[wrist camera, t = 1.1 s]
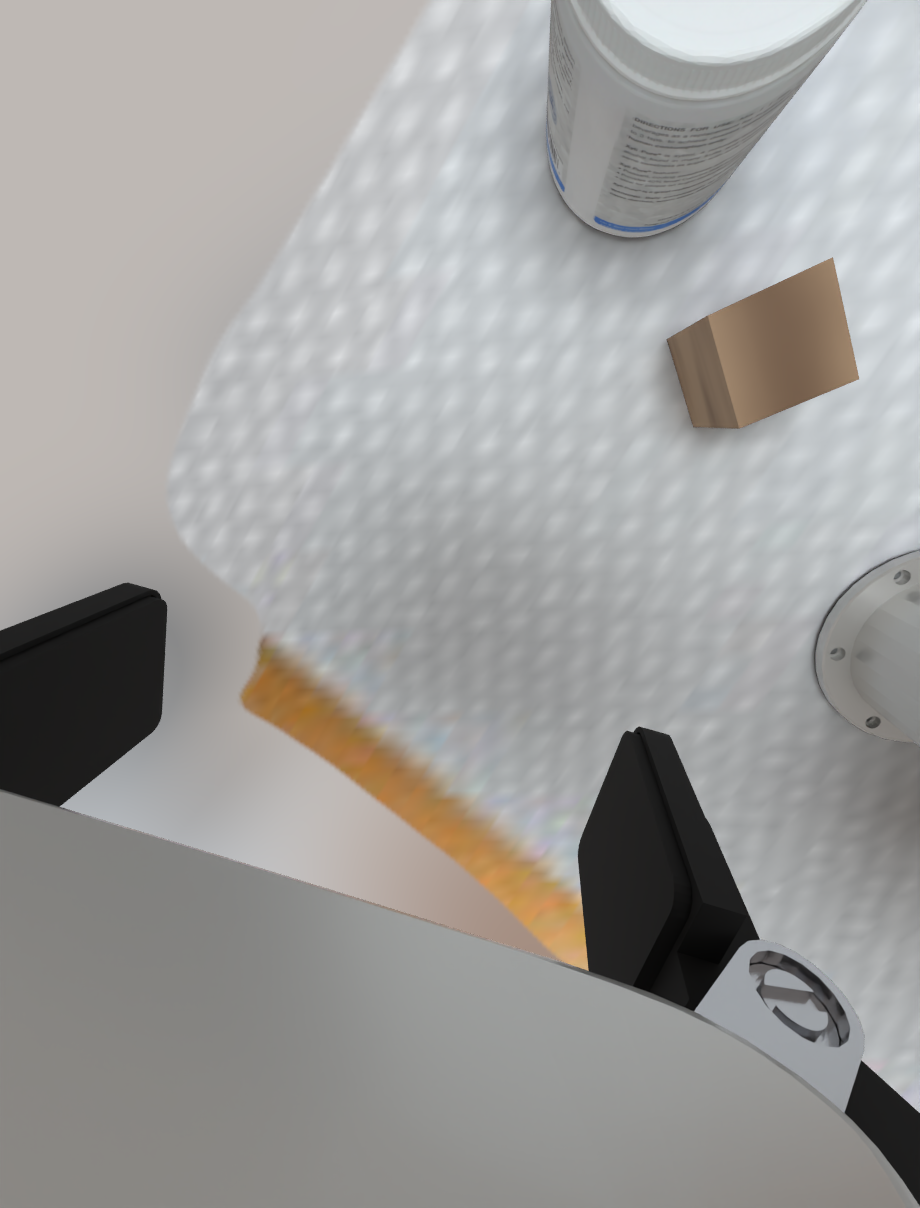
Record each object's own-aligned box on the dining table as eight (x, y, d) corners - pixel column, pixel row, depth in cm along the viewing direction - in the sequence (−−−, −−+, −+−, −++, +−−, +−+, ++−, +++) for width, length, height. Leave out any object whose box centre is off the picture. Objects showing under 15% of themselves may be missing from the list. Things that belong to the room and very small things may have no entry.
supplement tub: (786, 91, 25) (1098, -300, 12) (652, 283, 29) (772, 154, 15) (624, -45, 25) (753, -645, 11) (504, 168, 28) (484, -84, 14)
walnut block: (760, 295, 28) (833, 257, 22) (784, 388, 29) (859, 379, 23) (666, 339, 29) (707, 315, 23) (693, 426, 31) (739, 428, 24)
